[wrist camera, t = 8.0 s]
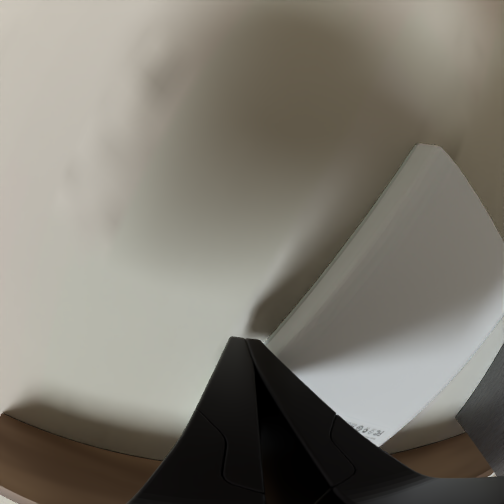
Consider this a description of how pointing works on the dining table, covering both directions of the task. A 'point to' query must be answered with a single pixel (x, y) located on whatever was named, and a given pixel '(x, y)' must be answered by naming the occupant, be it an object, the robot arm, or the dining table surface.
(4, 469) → the rail
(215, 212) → the dining table surface
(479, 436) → the bookend
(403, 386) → the external hard drive
